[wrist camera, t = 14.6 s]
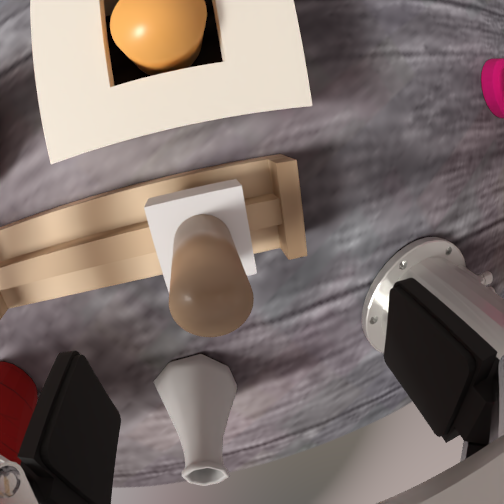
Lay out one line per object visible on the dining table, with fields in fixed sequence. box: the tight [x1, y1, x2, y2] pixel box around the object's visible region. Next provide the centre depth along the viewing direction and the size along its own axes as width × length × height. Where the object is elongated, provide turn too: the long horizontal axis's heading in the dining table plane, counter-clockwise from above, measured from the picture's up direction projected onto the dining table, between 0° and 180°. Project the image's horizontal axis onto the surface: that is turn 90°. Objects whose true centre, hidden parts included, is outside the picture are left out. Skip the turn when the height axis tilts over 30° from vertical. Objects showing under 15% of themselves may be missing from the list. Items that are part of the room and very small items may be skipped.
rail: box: [0, 154, 307, 319], centre depth 19 cm, size 24×6×4 cm, turn 99°
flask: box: [154, 354, 237, 486], centre depth 23 cm, size 7×7×10 cm
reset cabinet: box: [31, 0, 312, 164], centre depth 14 cm, size 12×10×7 cm
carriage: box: [144, 179, 257, 337], centre depth 15 cm, size 5×5×9 cm
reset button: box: [110, 0, 207, 76], centre depth 12 cm, size 4×4×5 cm
